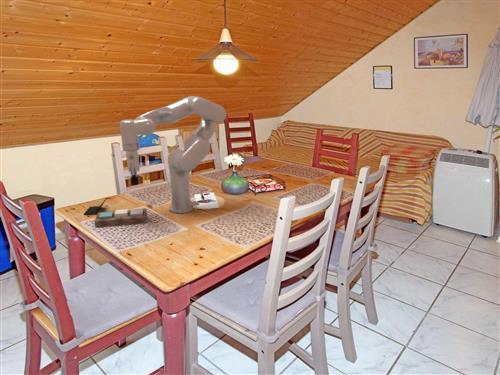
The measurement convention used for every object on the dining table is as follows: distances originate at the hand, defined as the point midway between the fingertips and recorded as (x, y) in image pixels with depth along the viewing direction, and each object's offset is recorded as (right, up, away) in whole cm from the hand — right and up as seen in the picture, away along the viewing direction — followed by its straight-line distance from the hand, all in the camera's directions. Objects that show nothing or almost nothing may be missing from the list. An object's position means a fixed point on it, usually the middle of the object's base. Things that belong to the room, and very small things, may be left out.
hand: (134, 184), depth 181 cm
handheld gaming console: (-25, -14, +15) cm, 32 cm away
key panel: (-7, -17, +3) cm, 19 cm away
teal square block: (-14, -17, +1) cm, 21 cm away
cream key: (-7, -15, +2) cm, 17 cm away
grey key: (0, -16, +4) cm, 16 cm away
